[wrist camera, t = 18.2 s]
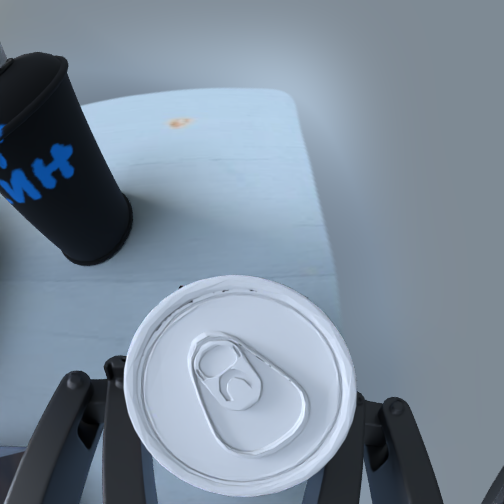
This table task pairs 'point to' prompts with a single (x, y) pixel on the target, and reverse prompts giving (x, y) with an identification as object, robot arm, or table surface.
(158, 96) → the table surface
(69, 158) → the aerosol can
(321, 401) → the beverage can
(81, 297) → the table surface
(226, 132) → the table surface
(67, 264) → the table surface
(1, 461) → the chest
